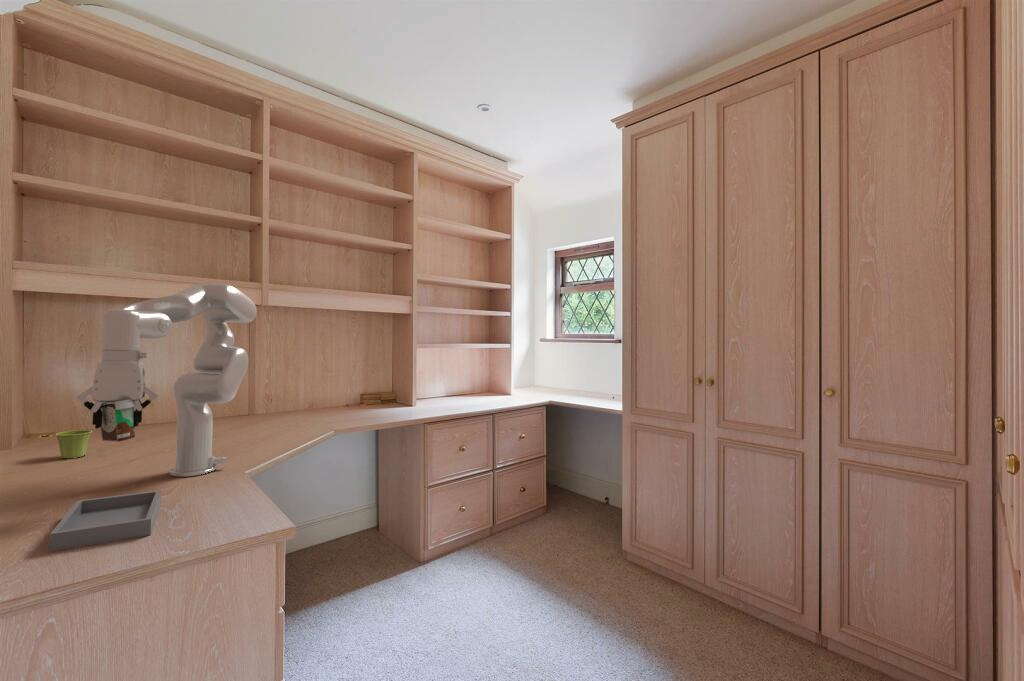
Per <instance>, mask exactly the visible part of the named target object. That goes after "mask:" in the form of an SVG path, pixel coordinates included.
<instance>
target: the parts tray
mask: <svg viewBox="0 0 1024 681" xmlns="http://www.w3.org/2000/svg"><path fill="white" fill-rule="evenodd" d="M160 504H161V505H162V490H161V489H160V490H154V491H153V490H152V491H147V492H144V491H143V492H137V493H130V494H119V495H112V496H111V495H110V496H104V497H103V496H102V497H96V498H88V499H86V498H85V499H79V500H76V502H75V504H73V505H72V507H71V508H70V509H69V511H68V512H67V513H66V514H65V516H63V518H62V519H61V520H60V521H59V523H57V525H56V526H55V528H53V529H52V531H50V533H49V552H54V551H61V550H68V549H74V548H75V549H76V548H80V547H86V545H87V546H93V545H98V543H99V544H104V543H103V542H105V543H111V542H117V541H116V540H118V541H123V540H122V539H124V540H129V539H128V538H130V539H135V538H141V537H148V536H151V535H152V533H153V530H154V525H155V522H156V520H157V516H158V514H157V513H159V511H160V508H159V507H161V505H160ZM158 510H159V511H158ZM110 541H111V542H110ZM92 544H93V545H92Z"/></svg>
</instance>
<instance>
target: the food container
mask: <svg viewBox="0 0 1024 681" xmlns="http://www.w3.org/2000/svg"><path fill="white" fill-rule="evenodd" d="M135 408H136V404H135V401H133V400H132V399H129V400H123V401H116V402H105V403H104V404H103V406H102V407H101V408H100V409H101V411H102V426H101V427H100V434H101V440H102V441H103V442H116V443H118V442H123V441H127V440H132V439H134V438H136V426H135V427H134V411H135Z"/></svg>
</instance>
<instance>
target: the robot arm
mask: <svg viewBox="0 0 1024 681" xmlns="http://www.w3.org/2000/svg"><path fill="white" fill-rule="evenodd" d="M257 313H258V309H257V306H256V304H255V302H254V301H253V300H252V299H251V298H250V297H248V296H247V295H246V294H245V293H243V292H242V291H241V290H240V289H238V288H236V287H235V286H232V285H231V284H227V283H209V282H208V283H207V282H205V283H197V284H194V285H192V286H189V287H187V288H185V289H182V290H180V291H179V292H178V291H177V292H176V293H173V294H171V295H166V296H161V297H157V298H153V299H148V300H143V301H142V300H141V301H139V302H134V303H132V304H131V303H130V304H129V305H127V306H125V307H122V308H109V309H107V310H105V311H104V313H103V314H102V315H103V316H102V332H101V334H102V337H101V354H100V357H101V358H100V361H99V362H97V364H96V367H95V369H94V370H95V371H94V376H93V380H92V386H90V387H89V388H88V389H87V390H85V391H84V392H81V393H80V394H79V395H77V397H76V400H77V401H78V402H80V403H81V404H82V405H83V406H84V407H86V409H88V410H89V411H91V413H92V423H91V424H92V425H93V426H95V427H94V428H95V429H99V428H100V427H101V426H102V411H101V409H100V408H101V407H102V406H103V404H104V403H105V402H116V401H123V400H129V399H132V400H133V401H135V404H136V407H135V409H134V427H135V428H136V427H138V426H139V425H140V424H141V423H143V410H144V409H145V408H146V407H148V406H149V405H150V404H152V402H154V401H155V400H156V399H157V398H158V397H159V394H158V393H157V392H155V391H153V390H152V389H151V388H149V387H148V386H147V385H146V372H145V364H144V362H140V361H141V359H147V354H148V353H146V352H141V339H143V340H144V339H145V340H146V339H149V340H150V339H151V340H152V339H161V338H165V337H166V336H168V335H169V334H170V333H171V332H172V329H173V324H174V323H180V322H186V321H189V320H191V319H194V318H195V317H197V316H199V315H200V314H203V318H204V319H203V320H204V323H205V326H206V335H205V336H204V339H203V341H202V343H201V344H200V348H199V349H198V351H197V352H196V355H195V356H194V359H193V362H192V364H193V369H194V370H195V371H197V372H189V373H186V374H182V375H180V376H179V377H177V379H176V380H175V381H174V383H173V393H174V398H175V404H176V441H175V445H176V446H175V466H174V467H172V468H170V470H169V471H168V472H169V475H170V476H172V477H180V478H181V477H185V478H186V477H195V476H196V477H197V476H201V474H202V475H206V474H209V473H208V472H210V473H212V472H211V471H213V472H214V470H215V469H216V470H217V469H218V464H228V463H229V456H225V457H224V456H219V457H216V456H214V453H213V426H214V425H213V422H214V420H213V418H214V416H213V411H212V409H211V408H210V406H209V405H208V404H227V403H230V402H231V401H232V400H233V399H235V397H236V395H237V393H238V390H239V388H240V386H241V384H242V382H243V380H244V378H245V375H246V372H247V370H248V367H249V356H248V353H247V351H246V350H245V349H243V348H242V347H239V346H234V343H235V335H234V333H233V331H232V330H231V329H230V327H229V326H228V324H227V323H233V324H234V323H235V324H248V323H251V322H253V321H254V320H255V319H256V317H257V315H258V314H257ZM146 394H147V395H148V398H147V399H146V400H145V401H143V402H142V399H143V398H144V397H145V395H146ZM90 395H91V399H92V401H90V400H89V399H88V397H89V396H90ZM93 401H95V403H93ZM216 470H215V471H216ZM205 473H206V474H205Z"/></svg>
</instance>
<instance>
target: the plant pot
mask: <svg viewBox="0 0 1024 681" xmlns="http://www.w3.org/2000/svg"><path fill="white" fill-rule="evenodd" d="M92 433H93V430H92V429H91V430H89V429H80V430H79V429H78V430H66V431H60V432H57V433H55V437H56V439H57V440H58V446H59V450H60V457H61V459H62V458H65V459H69V458H73V459H75V458H74V457H80V458H82V457H85V456H86V454H87V449H88V445H89V439H90V437H91V434H92ZM84 455H85V456H84ZM81 456H82V457H81Z"/></svg>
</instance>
